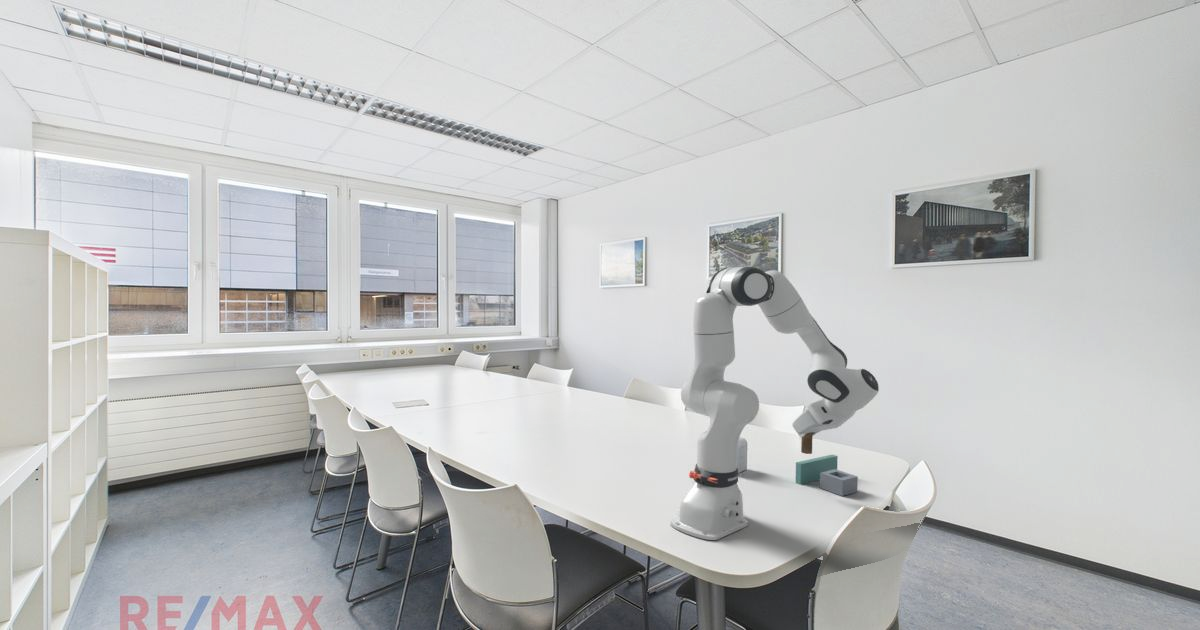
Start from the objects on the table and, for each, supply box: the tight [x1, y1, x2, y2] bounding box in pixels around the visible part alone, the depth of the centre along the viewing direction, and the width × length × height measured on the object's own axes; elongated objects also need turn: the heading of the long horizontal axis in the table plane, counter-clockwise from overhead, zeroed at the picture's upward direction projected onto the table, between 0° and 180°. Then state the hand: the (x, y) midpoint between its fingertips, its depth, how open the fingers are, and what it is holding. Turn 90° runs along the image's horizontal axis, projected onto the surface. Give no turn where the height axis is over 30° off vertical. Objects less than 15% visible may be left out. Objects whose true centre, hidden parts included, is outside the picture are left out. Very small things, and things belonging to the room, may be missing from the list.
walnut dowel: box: [800, 432, 814, 455], centre depth 152 cm, size 3×3×10 cm
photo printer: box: [737, 436, 748, 473], centre depth 173 cm, size 10×4×12 cm, turn 134°
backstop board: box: [795, 454, 839, 485], centre depth 166 cm, size 2×20×7 cm, turn 119°
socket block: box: [819, 469, 859, 497], centre depth 156 cm, size 8×8×5 cm
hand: (805, 434), depth 152 cm, fingers closed on walnut dowel, 3 cm apart
